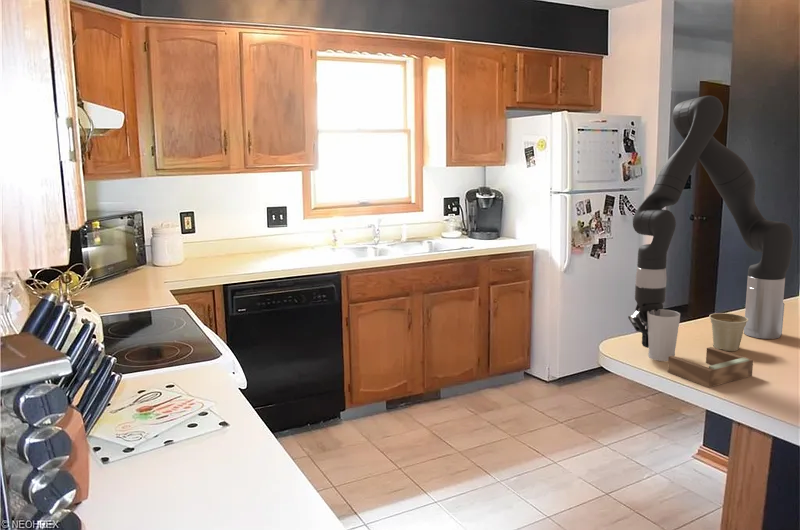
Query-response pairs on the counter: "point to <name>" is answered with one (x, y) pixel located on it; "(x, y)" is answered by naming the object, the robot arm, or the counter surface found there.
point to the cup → (662, 334)
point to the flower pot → (727, 330)
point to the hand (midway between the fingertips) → (647, 346)
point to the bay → (712, 368)
